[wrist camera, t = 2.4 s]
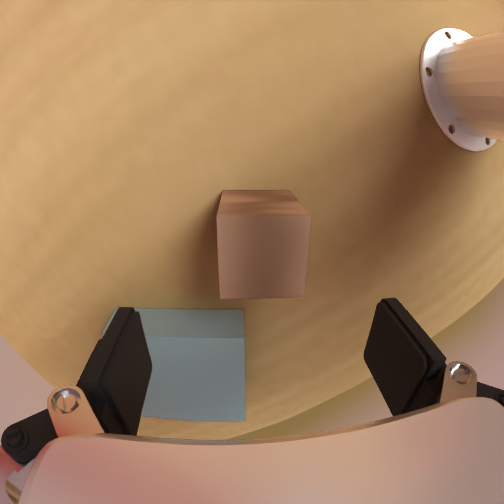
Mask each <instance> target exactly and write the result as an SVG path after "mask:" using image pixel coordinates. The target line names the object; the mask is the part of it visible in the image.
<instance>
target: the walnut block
mask: <svg viewBox="0 0 504 504" xmlns="http://www.w3.org/2000/svg"><path fill="white" fill-rule="evenodd" d="M310 228H311V215H310V214H309V213H308V212H307V211H306V209H305V208H304V207H303V206H302V205H301V203H300V202H299V201H298V200H297V199H296V198H295V196H294V195H293V194H292V193H291V192H290V190H223V192H222V196H221V200H220V204H219V208H218V212H217V246H218V270H219V290H220V299H256V298H293V297H304V292H305V282H306V273H307V262H308V252H309V240H310Z"/></svg>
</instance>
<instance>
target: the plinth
mask: <svg viewBox="0 0 504 504" xmlns="http://www.w3.org/2000/svg"><path fill="white" fill-rule="evenodd" d="M118 308H119V307H116V309H115V311H114V312H113V314H112V316H111V318H110V319H109V321H108V323H107V325H106V326H105V328H104V330H103V332H102V335H103V336H104V334H105V332H106V330H107V328H108V326H109V324H110V323H111V321H112V319H113V317H114V315H115V313H116V312H117V310H118ZM134 309H135V311H138V312H139V313H140V317H141V322H142V326H143V330H144V334H145V338H146V342H147V346H148V350H149V354H150V357H151V361H152V373H151V377H150V381H149V385H148V389H147V393H146V397H145V401H144V405H143V409H142V413H141V416H144V417H152V418H162V419H174V420H189V421H215V422H243V421H246V419H245V336H244V311H243V309H152V308H134Z"/></svg>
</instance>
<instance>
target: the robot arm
mask: <svg viewBox="0 0 504 504" xmlns="http://www.w3.org/2000/svg"><path fill="white" fill-rule="evenodd" d="M445 32H446V33H447V34H448V36H449V39H448V38H447V37H446V36H445ZM426 68H428V69H429V70H430V72H431V75H430V76H428V75H427V74H426V71H425V70H426ZM420 77H421V83H422V88H423V92H424V96H425V99H426V102H427V104H428V107H429V109H430V111H431V113H432V115H433V117H434V119H435V121H436V122H437V124H438V126H439V127H440V129H441V130H442V131H443V133H444V134H445V135H446V136H447V137H448V138H449V139H450V140H451V141H452V142H454V143H455V144H456V145H458V146H459V147H461V148H463V149H466V150H469V151H483V150H486V149H488V148H490V147H491V146H493V145H494V144H495V142H496V141H497V140H502V141H504V31H503V32H497V33H492V34H487V35H482V36H477V37H472V36H471V35H469V34H468V33H466V32H464V31H461V30H459V29H455V28H442V29H439V30H437V31H435V32H433V33H432V34H431V35H430V36H429V37H428V38H427V39H426V41H425V43H424V45H423V48H422V51H421V56H420ZM449 125H451V126H452V129H453V130H452V133H450V132H449V129H448V128H449ZM486 138H487V139H488V143H487V144H486V142H485V139H486ZM364 360H365V362H366V364H367V366H368V368H369V370H370V372H371V374H372V376H373V378H374V380H375V381H376V383H377V385H378V387H379V389H380V391H381V393H382V395H383V397H384V399H385V401H386V403H387V405H388V407H389V409H390V411H391V413H392V415H393V417H390V418H386V419H382V420H378V421H374V422H370V423H365V424H361V425H356V426H351V427H346V428H341V429H335V430H329V431H323V432H317V433H310V434H302V435H294V436H284V437H275V438H260V439H242V440H191V439H170V438H155V437H144V436H136V435H137V431H138V426H139V422H140V417H141V413H142V409H143V405H144V401H145V397H146V393H147V389H148V385H149V381H150V377H151V373H152V361H151V357H150V354H149V350H148V346H147V342H146V338H145V334H144V330H143V326H142V322H141V317H140V313H139V312H138V311H135V309H134V308H133V307H119V308H118V310H117V312H116V313H115V315H114V317H113V319H112V321H111V323H110V324H109V326H108V328H107V330H106V332H105V334H104V336H103V338H102V339H100V340H99V341H98V343H97V344H96V346H95V348H94V350H93V352H92V354H91V356H90V358H89V360H88V362H87V364H86V366H85V368H84V370H83V372H82V374H81V376H80V379H79V381H78V383H77V385H76V386H73V385H64V386H60V387H58V388H56V389H55V390H54V391H53V392H51V394H50V395H49V397H48V400H47V407H48V409H45V410H43V411H41V412H39V413H37V414H35V415H32V416H30V417H28V418H26V419H24V420H21V421H19V422H17V423H15V424H12V425H10V426H9V427H7V429H6V430H5V431H4V432H3V435H2V438H1V443H2V445H0V504H504V390H501V389H498V388H495V387H492V386H489V385H486V384H483V383H480V382H477V375H476V372H475V370H474V369H473V368H472V367H471V366H469V365H468V364H466V363H464V362H459V361H456V362H451V363H449V364H448V365H446V364H445V361H446V357H445V356H444V355H443V354H442V352H441V351H440V350H439V348H438V347H437V346H436V345H435V343H434V342H433V341H432V340H431V339H430V337H429V336H428V335H427V334H426V332H425V331H424V330H423V329H422V328H421V326H420V325H419V324H418V323H417V322H416V321H415V319H414V318H413V317H412V316H411V315H410V313H409V312H408V311H407V310H406V309H405V308H404V307H403V305H402V304H401V303H400V302H399V301H398V300H397V299H396V298H386V299H382V300H381V302H380V303H378V304H377V307H376V311H375V315H374V318H373V322H372V326H371V330H370V333H369V337H368V340H367V344H366V347H365V350H364Z"/></svg>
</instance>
